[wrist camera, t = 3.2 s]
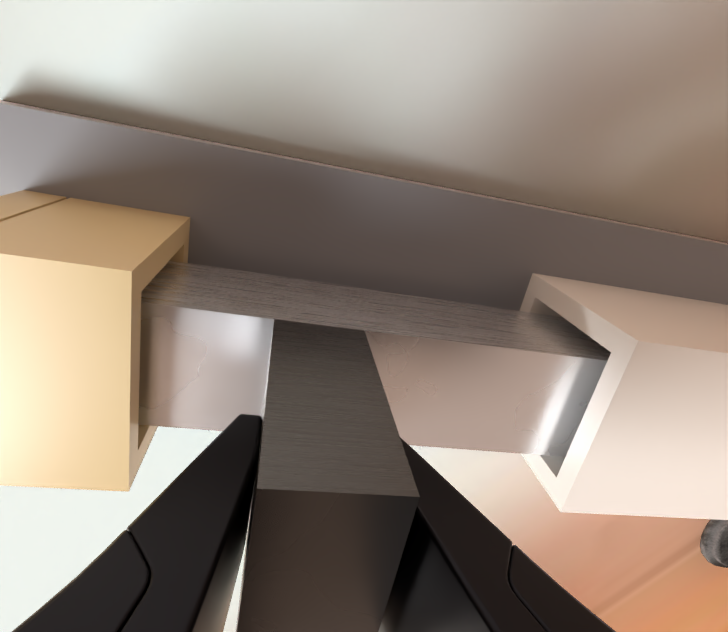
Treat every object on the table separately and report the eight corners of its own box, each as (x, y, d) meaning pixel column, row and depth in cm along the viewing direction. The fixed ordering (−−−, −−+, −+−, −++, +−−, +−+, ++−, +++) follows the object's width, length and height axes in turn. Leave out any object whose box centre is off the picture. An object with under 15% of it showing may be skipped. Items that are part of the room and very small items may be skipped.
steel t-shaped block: (619, 407, 16) (886, 642, 9) (92, 353, 13) (-178, 663, 5) (655, 330, 15) (992, 526, 8) (90, 249, 12) (-251, 462, 4)
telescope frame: (738, 455, 21) (895, 574, 15) (24, 396, 15) (-130, 553, 10) (852, 267, 18) (1102, 333, 12) (-1, 100, 12) (-253, 82, 6)
